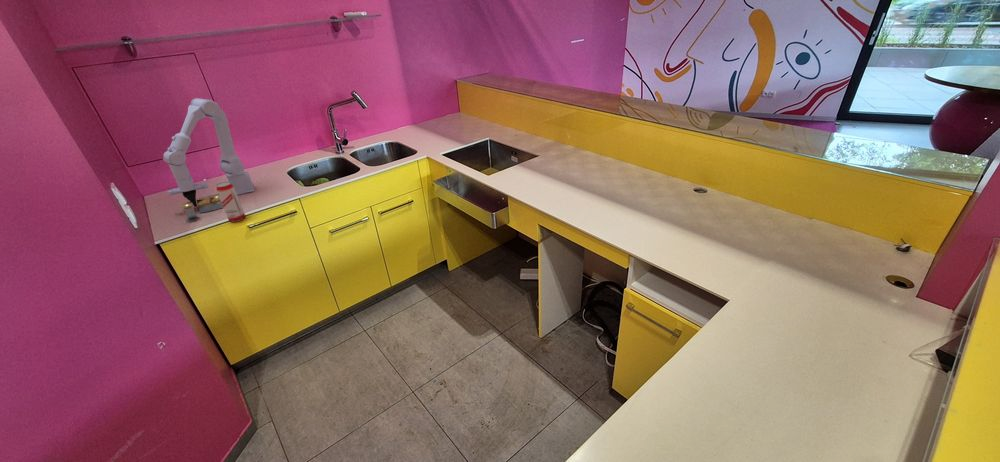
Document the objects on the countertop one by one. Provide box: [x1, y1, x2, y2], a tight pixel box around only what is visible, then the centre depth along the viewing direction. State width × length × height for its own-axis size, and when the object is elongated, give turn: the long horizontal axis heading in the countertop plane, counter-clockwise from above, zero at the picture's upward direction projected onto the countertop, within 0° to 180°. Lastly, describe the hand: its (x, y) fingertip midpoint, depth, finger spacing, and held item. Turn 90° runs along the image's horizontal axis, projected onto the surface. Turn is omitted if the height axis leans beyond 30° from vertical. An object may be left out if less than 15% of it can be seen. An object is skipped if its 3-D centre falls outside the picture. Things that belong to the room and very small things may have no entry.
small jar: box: [180, 201, 199, 220], centre depth 176 cm, size 4×4×7 cm
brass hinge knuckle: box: [196, 196, 224, 214], centre depth 187 cm, size 10×8×4 cm
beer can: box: [216, 181, 246, 223], centre depth 173 cm, size 6×6×16 cm
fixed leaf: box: [198, 193, 221, 203], centre depth 191 cm, size 10×10×4 cm
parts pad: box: [185, 215, 199, 223], centre depth 178 cm, size 4×4×1 cm
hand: (195, 206), depth 186 cm, fingers closed
